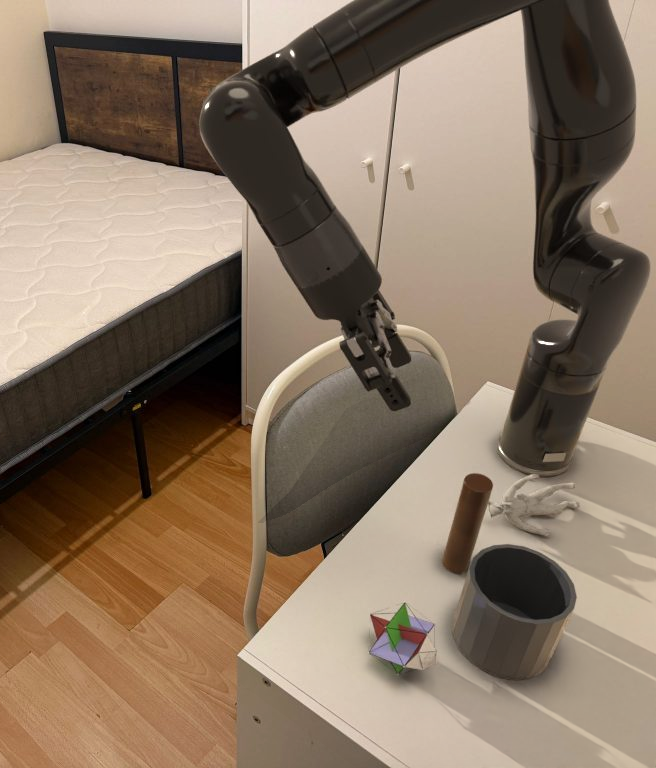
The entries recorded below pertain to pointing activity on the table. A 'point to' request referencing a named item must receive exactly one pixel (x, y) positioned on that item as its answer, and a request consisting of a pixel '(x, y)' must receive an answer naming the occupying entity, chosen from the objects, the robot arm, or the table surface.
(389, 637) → the geometric puzzle
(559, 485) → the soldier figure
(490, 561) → the tin
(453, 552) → the cylinder
